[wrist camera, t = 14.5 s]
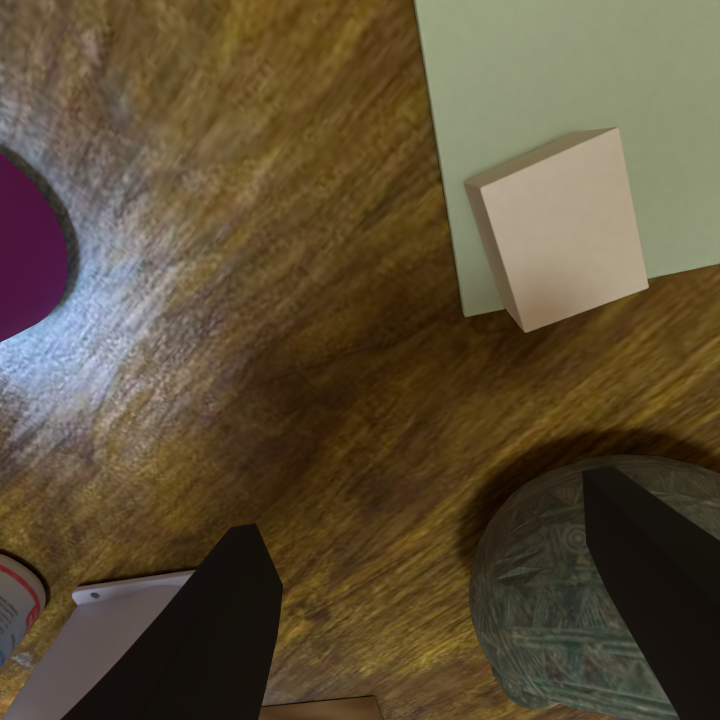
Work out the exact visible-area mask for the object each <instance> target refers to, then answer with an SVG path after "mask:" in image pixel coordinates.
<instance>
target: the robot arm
mask: <svg viewBox="0 0 720 720" xmlns="http://www.w3.org/2000/svg"><path fill="white" fill-rule="evenodd" d="M582 478H583V497H584V516H585V534H586V544H587V547H588V549H589V551H590V554H591V556H592V558H593V561H594V563H595V565H596V568H597V570H598V572H599V575H600V577H601V579H602V581H603V583H604V586H605V588H606V590H607V592H608V594H609V596H610V598H611V599H612V601H613V603H614V605H615V607H616V608H617V610H618V612H619V614H620V615H621V617H622V619H623V621H624V622H625V624H626V626H627V628H628V629H629V631H630V633H631V635H632V636H633V638H634V640H635V642H636V643H637V645H638V647H639V649H640V650H641V652H642V654H643V656H644V657H645V659H646V661H647V663H648V664H649V666H650V668H651V669H652V671H653V673H654V675H655V676H656V678H657V680H658V682H659V683H660V685H661V687H662V689H663V690H664V692H665V694H666V696H667V697H668V699H669V701H670V703H671V704H672V706H673V708H674V709H675V711H676V713H677V715H678V717H679V718H680V720H720V540H719V539H717V538H716V537H714V536H713V535H711V534H710V533H708V532H707V531H705V530H704V529H702V528H701V527H699V526H698V525H696V524H695V523H693V522H692V521H690V520H689V519H687V518H686V517H684V516H683V515H682V514H680V513H679V512H677V511H676V510H674V509H673V508H672V507H670V506H669V505H667V504H666V503H664V502H663V501H662V500H660V499H659V498H657V497H656V496H655V495H653V494H652V493H650V492H649V491H648V490H646V489H645V488H643V487H642V486H641V485H639V484H638V483H636V482H635V481H634V480H632V479H631V478H630V477H628V476H627V475H625V474H624V473H622V472H621V471H620V470H618V469H617V468H615V467H614V466H609V467H603V468H597V469H591V470H584V471H582ZM282 591H283V585H282V582H281V580H280V578H279V575H278V573H277V571H276V569H275V566H274V564H273V562H272V559H271V557H270V555H269V553H268V550H267V548H266V546H265V543H264V541H263V539H262V537H261V534H260V532H259V530H258V527H257V525H256V523H254V524H248V525H242V526H236V527H231V528H230V529H229V530H228V531H227V532H226V534H225V535H224V536H223V537H222V538H221V539H220V541H219V542H218V543H217V544H216V546H215V547H214V548H213V549H212V550H211V552H210V553H209V554H208V555H207V557H206V558H205V559H204V560H203V562H202V563H201V564H200V565H199V567H198V568H197V569H196V570H190V571H183V572H176V573H169V574H162V575H155V576H148V577H142V578H135V579H128V580H121V581H114V582H107V583H101V584H94V585H87V586H80V587H77V588H76V589H75V590H74V592H73V593H72V598H73V600H74V601H75V602H76V604H77V605H78V606H77V607H76V609H75V610H74V612H73V613H72V615H71V616H70V618H69V619H68V621H67V622H66V624H65V625H64V627H63V628H62V630H61V631H60V633H59V634H58V636H57V637H56V638H55V640H54V641H53V643H52V644H51V646H50V647H49V649H48V650H47V652H46V653H45V655H44V656H43V658H42V659H41V661H40V662H39V664H38V665H37V667H36V668H35V670H34V671H33V673H32V674H31V676H30V677H29V678H28V680H27V681H26V683H25V684H24V686H23V687H22V689H21V690H20V692H19V693H18V695H17V696H16V698H15V699H14V701H13V702H12V704H11V705H10V707H9V708H8V710H7V712H6V713H5V715H4V717H3V719H2V720H258V719H259V714H260V710H261V706H262V701H263V697H264V693H265V689H266V684H267V680H268V676H269V671H270V667H271V662H272V658H273V653H274V649H275V644H276V639H277V635H278V628H279V620H280V611H281V601H282Z"/></svg>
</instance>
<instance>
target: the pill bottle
mask: <svg viewBox="0 0 720 720" xmlns="http://www.w3.org/2000/svg"><path fill="white" fill-rule="evenodd" d="M45 602H46V595H45V590H44V587H43V585H42V583H41V581H40V580H39V579H38V577H37V576H36V575H35V574H34V573H33V572H32V571H30V570H29V569H28V568H26V567H25V566H23V565H22V564H20V563H19V562H17V561H15V560H14V559H12V558H10V557H8V556H5V555H3V554H0V668H1V667H2V666H3V664H4V663H5V661H6V660H7V659H8V658H9V656H10V655H11V653H12V652H13V651H14V649H15V648H16V647H17V645H18V644H19V643H20V641H21V640H22V639H23V638H24V636H25V635H26V633H27V632H28V631H29V629H30V628H31V627H32V625H33V624H34V623H35V621H36V620H37V618H38V617H39V616H40V614H41V613H42V611H43V609H44V606H45Z"/></svg>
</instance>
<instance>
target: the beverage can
mask: <svg viewBox="0 0 720 720" xmlns="http://www.w3.org/2000/svg"><path fill="white" fill-rule="evenodd" d="M67 276H68V261H67V250H66V242H65V239H64V237H63V234H62V231H61V229H60V226H59V224H58V221H57V219H56V216H55V214H54V211H53V209H52V208H51V207H50V205H49V204H48V202H47V201H46V200H45V198H44V197H43V195H42V194H41V193H40V191H39V190H38V188H37V187H36V186H35V184H34V183H33V181H32V180H31V179H30V178H29V177H28V176H26V175H25V174H24V173H23V172H22V171H21V170H20V169H19V168H17V167H16V166H15V165H14V164H13V163H12V162H11V161H9V160H8V159H7V158H6V157H5V156H4V155H3V154H1V153H0V342H2V341H4V340H6V339H8V338H10V337H12V336H14V335H16V334H18V333H20V332H22V331H24V330H25V329H27V328H29V327H31V326H33V325H35V324H37V323H38V322H40V321H41V320H42V319H44V318H45V317H47V316H48V315H49V313H50V312H51V311H52V310H53V308H54V307H55V306H56V304H57V303H58V302H59V301H60V299H61V298H62V295H63V291H64V288H65V284H66V280H67Z"/></svg>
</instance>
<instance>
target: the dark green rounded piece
mask: <svg viewBox="0 0 720 720" xmlns="http://www.w3.org/2000/svg"><path fill="white" fill-rule="evenodd" d="M609 466H614V467H615V468H617V469H618V470H620V471H621V472H622V473H624V474H625V475H627V476H628V477H630V478H631V479H632V480H634V481H635V482H636V483H638V484H639V485H641V486H642V487H643V488H645V489H646V490H648V491H649V492H650V493H652V494H653V495H655V496H656V497H657V498H659V499H660V500H662V501H663V502H664V503H666V504H667V505H669V506H670V507H672V508H673V509H674V510H676V511H677V512H679V513H680V514H682V515H683V516H684V517H686V518H687V519H689V520H690V521H692V522H693V523H695V524H696V525H698V526H699V527H701V528H702V529H704V530H705V531H707V532H708V533H710V534H711V535H713V536H714V537H716V538H717V539H719V540H720V474H719V473H716V472H714V471H711V470H708V469H706V468H703V467H700V466H698V465H695V464H692V463H686V462H681V461H678V460H674V459H669V458H665V457H660V456H646V455H624V454H621V455H608V456H600V457H594V458H588V459H584V460H581V461H578V462H575V463H572V464H569V465H565V466H561V467H558V468H556V469H553V470H550V471H548V472H546V473H544V474H542V475H540V476H538V477H536V478H534V479H532V480H530V481H528V482H526V483H525V484H524V485H523V486H521V487H520V488H518V489H517V490H516V491H515V492H513V493H512V494H511V496H510V497H509V498H508V499H507V500H506V502H505V503H504V504H503V505H502V506H501V508H500V509H499V510H498V512H497V513H496V514H495V515H494V516H493V518H492V519H491V520H490V521H489V523H488V525H487V527H486V530H485V532H484V534H483V535H482V537H481V538H480V541H479V544H478V547H477V551H476V554H475V558H474V562H473V566H472V570H471V577H470V586H469V604H470V612H471V617H472V623H473V625H474V628H475V631H476V634H477V637H478V640H479V642H480V645H481V647H482V649H483V651H484V653H485V655H486V657H487V658H488V659H489V661H490V662H491V666H492V672H493V675H494V677H495V678H496V680H497V682H498V683H499V685H500V686H501V688H502V689H503V691H504V692H505V694H506V695H507V697H508V698H509V699H510V700H512V701H513V702H515V703H516V704H518V705H519V706H521V707H525V708H530V709H534V710H537V709H549V708H551V707H553V706H556V705H558V704H563V705H566V706H569V707H573V708H576V709H580V710H585V711H590V712H595V713H599V714H604V715H609V716H614V717H615V718H616V719H617V720H680V718H679V717H678V715H677V713H676V711H675V709H674V708H673V706H672V704H671V703H670V701H669V699H668V697H667V696H666V694H665V692H664V690H663V689H662V687H661V685H660V683H659V682H658V680H657V678H656V676H655V675H654V673H653V671H652V669H651V668H650V666H649V664H648V663H647V661H646V659H645V657H644V656H643V654H642V652H641V650H640V649H639V647H638V645H637V643H636V642H635V640H634V638H633V636H632V635H631V633H630V631H629V629H628V628H627V626H626V624H625V622H624V621H623V619H622V617H621V615H620V614H619V612H618V610H617V608H616V607H615V605H614V603H613V601H612V599H611V598H610V596H609V594H608V592H607V590H606V588H605V586H604V583H603V581H602V579H601V577H600V575H599V572H598V570H597V568H596V565H595V563H594V561H593V558H592V556H591V554H590V551H589V549H588V547H587V544H586V534H585V516H584V497H583V478H582V471H584V470H591V469H597V468H603V467H609Z"/></svg>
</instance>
